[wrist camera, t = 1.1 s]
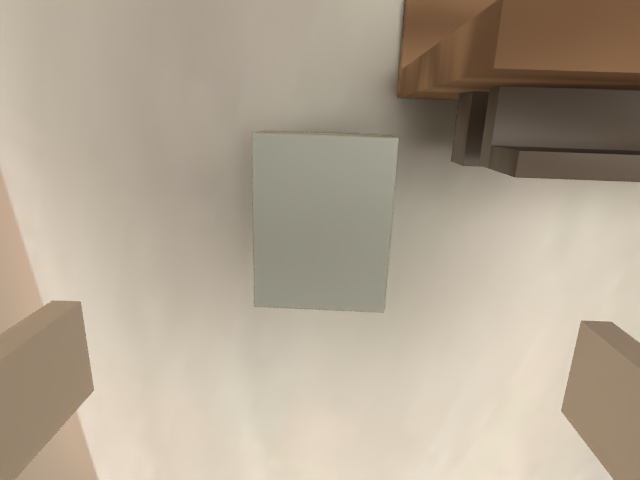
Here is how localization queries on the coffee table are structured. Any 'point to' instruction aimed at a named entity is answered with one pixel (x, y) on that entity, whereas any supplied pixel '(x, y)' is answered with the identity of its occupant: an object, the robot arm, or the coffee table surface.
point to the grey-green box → (322, 219)
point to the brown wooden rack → (531, 82)
